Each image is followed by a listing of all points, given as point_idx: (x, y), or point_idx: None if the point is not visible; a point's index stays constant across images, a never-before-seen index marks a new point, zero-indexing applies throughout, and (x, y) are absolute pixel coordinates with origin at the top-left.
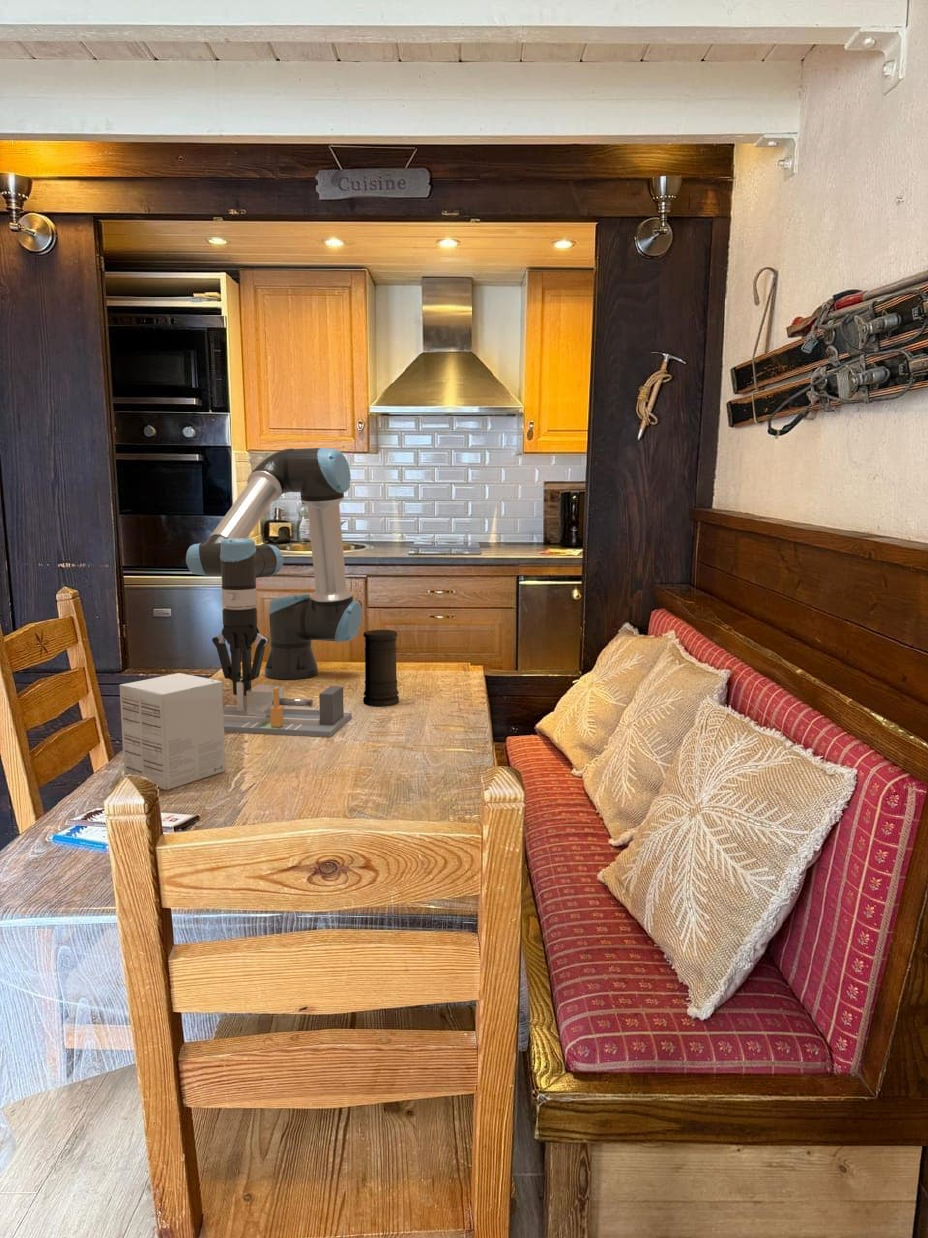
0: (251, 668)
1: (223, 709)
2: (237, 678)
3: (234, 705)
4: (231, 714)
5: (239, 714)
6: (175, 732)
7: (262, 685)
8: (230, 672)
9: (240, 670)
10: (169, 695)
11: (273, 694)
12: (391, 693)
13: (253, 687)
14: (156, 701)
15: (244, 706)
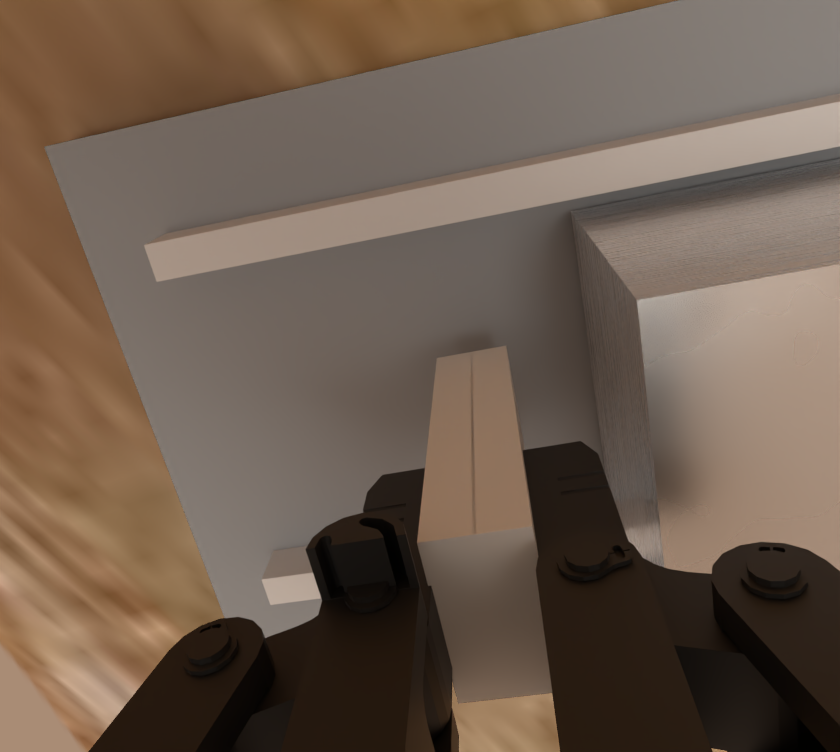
0: (698, 713)
1: (128, 227)
2: (453, 724)
3: (243, 229)
4: (337, 363)
5: (410, 338)
6: None
7: (750, 350)
8: (238, 748)
9: (416, 718)
10: None
11: None
12: None
13: (669, 516)
14: None
15: (524, 449)
